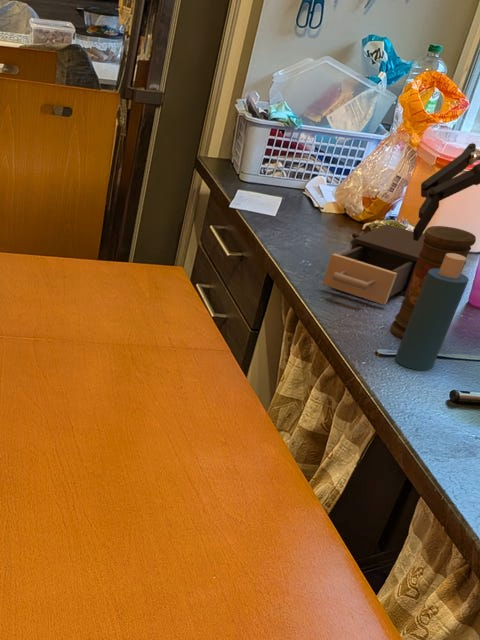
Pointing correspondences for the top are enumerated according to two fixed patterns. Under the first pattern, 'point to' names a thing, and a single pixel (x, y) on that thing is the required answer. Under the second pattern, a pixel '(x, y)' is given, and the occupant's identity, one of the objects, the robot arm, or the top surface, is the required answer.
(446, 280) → the bottle
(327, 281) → the drawer
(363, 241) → the cabinet
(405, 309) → the container
